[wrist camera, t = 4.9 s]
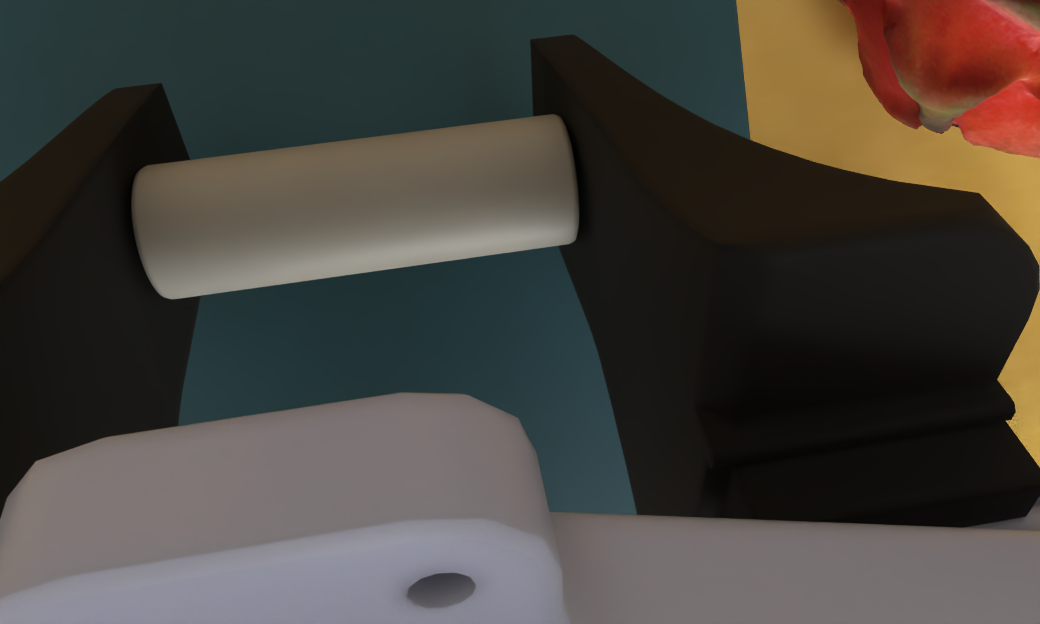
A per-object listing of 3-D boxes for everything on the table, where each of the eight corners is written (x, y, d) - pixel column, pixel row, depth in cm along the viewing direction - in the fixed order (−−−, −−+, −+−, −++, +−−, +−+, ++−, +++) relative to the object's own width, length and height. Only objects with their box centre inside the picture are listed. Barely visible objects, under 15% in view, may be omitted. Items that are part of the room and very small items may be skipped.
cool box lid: (772, 493, 16) (926, 614, 11) (75, 610, 15) (-105, 803, 10) (695, -247, 14) (831, -494, 9) (-85, -176, 13) (-389, -410, 8)
